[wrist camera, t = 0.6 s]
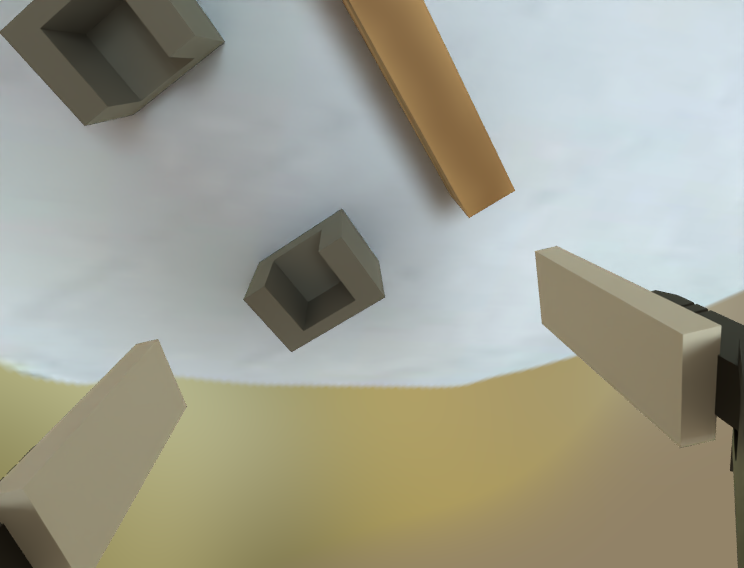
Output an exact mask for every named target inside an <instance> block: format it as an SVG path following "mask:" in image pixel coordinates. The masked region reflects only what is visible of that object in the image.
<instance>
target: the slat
mask: <svg viewBox="0 0 744 568" xmlns="http://www.w3.org/2000/svg"><path fill="white" fill-rule="evenodd" d="M342 2H343V4H344V5H345V7H346V9H347V11H348V13H349V14H350V16H351V18H352V20H353V21H354V23H355V25H356V27H357V29H358V30H359V32H360V34H361V36H362V38H363V39H364V41H365V43H366V45H367V47H368V48H369V50H370V52H371V54H372V56H373V57H374V59H375V61H376V63H377V64H378V66H379V68H380V70H381V72H382V73H383V75H384V77H385V79H386V81H387V82H388V84H389V86H390V88H391V90H392V91H393V93H394V95H395V97H396V99H397V100H398V102H399V104H400V106H401V107H402V109H403V111H404V113H405V115H406V116H407V118H408V120H409V122H410V124H411V125H412V127H413V129H414V131H415V133H416V134H417V136H418V138H419V140H420V142H421V143H422V145H423V147H424V149H425V150H426V152H427V154H428V156H429V158H430V159H431V161H432V163H433V165H434V167H435V168H436V170H437V172H438V174H439V176H440V177H441V179H442V181H443V183H444V184H445V186H446V188H447V190H448V192H449V193H450V195H451V197H452V198H453V199H454V200H455V201H456V203H457V204H458V205H459V206H460V208H461V209H462V210H463V211H464V212H465V214H466V215H467V216H468V217H469V218H470V217H472V216H473V215H475V214H477V213H478V212H480V211H482V210H483V209H485V208H487V207H488V206H490V205H492V204H493V203H495V202H497V201H498V200H500V199H502V198H503V197H505V196H507V195H508V194H510V193H512V192H513V191H515V189H514V187H513V185H512V183H511V181H510V179H509V177H508V175H507V173H506V171H505V169H504V167H503V165H502V162H501V160H500V158H499V156H498V154H497V152H496V150H495V148H494V146H493V144H492V142H491V140H490V138H489V135H488V133H487V131H486V129H485V127H484V125H483V123H482V121H481V119H480V117H479V115H478V113H477V111H476V108H475V106H474V104H473V102H472V100H471V98H470V96H469V94H468V92H467V90H466V88H465V86H464V84H463V82H462V79H461V77H460V75H459V73H458V71H457V69H456V67H455V65H454V63H453V61H452V59H451V57H450V55H449V52H448V50H447V48H446V46H445V44H444V42H443V40H442V38H441V36H440V34H439V32H438V30H437V28H436V25H435V23H434V21H433V19H432V17H431V15H430V13H429V11H428V9H427V7H426V5H425V3H424V1H423V0H342Z"/></svg>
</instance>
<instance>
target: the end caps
mask: <svg viewBox="0 0 744 568" xmlns="http://www.w3.org/2000/svg"><path fill="white" fill-rule="evenodd" d="M0 34H1V35H2V36H3V37H4V38H5V39H6V40H7V41H8V42H9V44H10V45H11V46H12V47H13V48H14V49H15V50H16V51H17V52H18V53H19V54H20V56H21V57H22V58H23V59H24V60H25V61H26V62H27V63H28V64H29V65H30V67H31V68H32V69H33V70H34V71H35V72H36V73H37V74H38V75H39V76H40V77H41V79H42V80H43V81H44V82H45V83H46V84H47V85H48V86H49V87H50V88H51V89H52V91H53V92H54V93H55V94H56V95H57V96H58V97H59V98H60V99H61V100H62V102H63V103H64V104H65V105H66V106H67V107H68V108H69V109H70V110H71V111H72V112H73V114H74V115H75V116H76V117H77V118H78V119H79V120H80V121H81V122H82V123H83V125H84V126H87V125H91V124H95V123H100V122H104V121H108V120H113V119H117V118H121V117H126V116H130V115H134V114H135V113H136V112H138V111H139V110H140V109H141V108H143V107H144V106H145V105H146V104H148V103H149V102H150V101H151V100H153V99H154V98H155V97H156V96H158V95H159V94H160V93H161V92H163V91H164V90H165V89H166V88H168V87H169V86H170V85H171V84H173V83H174V82H175V81H176V80H178V79H179V78H180V77H181V76H183V75H184V74H185V73H186V72H188V71H189V70H190V69H191V68H193V67H194V66H195V65H196V64H198V63H199V62H200V61H201V60H203V59H204V58H205V57H206V56H208V55H209V54H210V53H211V52H213V51H214V50H215V49H216V48H218V47H219V46H220V45H221V44H223V43H224V42H225V41H224V40H223V38H222V37H221V35H220V34H219V33H218V31H217V30H216V28H215V27H214V26H213V24H212V23H211V21H210V20H209V18H208V17H207V16H206V14H205V13H204V11H203V10H202V8H201V7H200V6H199V4H198V3H197V1H196V0H33V1H32V2H31V3H30V4H29V5H28V6H27V7H26V8H25V9H24V10H23V11H22V12H21V13H19V14H18V15H17V16H16V17H15V18H14V19H13V20H12V21H11V22H10V23H9V24H8V25H7V26H5V27H4V28H3V29H2V30H1V31H0ZM383 298H385V294H384V288H383V282H382V276H381V271H380V265H379V261H378V259H377V258H376V256H375V255H374V254H373V252H372V251H371V249H370V248H369V246H368V245H367V244H366V242H365V241H364V239H363V238H362V237H361V235H360V234H359V232H358V231H357V229H356V228H355V227H354V225H353V224H352V222H351V221H350V219H349V218H348V217H347V215H346V214H345V212H344V211H343V209H341V210H339V211H338V212H336V213H335V214H333V215H332V216H330V217H329V218H327V219H326V220H324V221H322V222H321V223H319V224H318V225H316V226H315V227H313V228H312V229H310V230H309V231H307V232H306V233H304V234H303V235H301V236H299V237H298V238H296V239H295V240H293V241H292V242H290V243H289V244H287V245H286V246H284V247H283V248H281V249H279V250H278V251H276V252H275V253H273V254H272V255H270V256H269V257H267V258H266V259H264V260H263V261H261V262H260V263H259V265H258V267H257V269H256V271H255V274H254V276H253V278H252V281H251V283H250V285H249V288H248V290H247V292H246V294H245V297H244V299H243V300H244V301H245V302H246V303H247V304H248V305H249V306H250V307H251V308H252V310H253V311H254V312H255V313H256V314H257V315H258V316H259V317H260V318H261V319H262V321H263V322H264V323H265V324H266V325H267V326H268V327H269V328H270V329H271V330H272V331H273V333H274V334H275V335H276V336H277V337H278V338H279V339H280V340H281V341H282V342H283V344H284V345H285V346H286V347H287V348H288V349H289V350H290V351H291V352H293V351H294V350H296V349H298V348H299V347H301V346H303V345H305V344H306V343H308V342H310V341H311V340H313V339H315V338H317V337H318V336H320V335H322V334H323V333H325V332H327V331H328V330H330V329H332V328H334V327H335V326H337V325H339V324H340V323H342V322H344V321H345V320H347V319H349V318H351V317H352V316H354V315H356V314H357V313H359V312H361V311H363V310H364V309H366V308H368V307H369V306H371V305H373V304H374V303H376V302H378V301H380V300H381V299H383Z"/></svg>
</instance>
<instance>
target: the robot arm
mask: <svg viewBox="0 0 744 568" xmlns="http://www.w3.org/2000/svg"><path fill="white" fill-rule="evenodd" d="M535 257H536V267H537V277H538V288H539V298H540V308H541V319H542V324H543V325H544V326H545V327H546V328H547V329H549V330H550V331H551V332H552V333H553V334H554V335H555V336H556V337H557V338H559V339H560V340H561V341H562V342H563V343H564V344H565V345H566V346H567V347H569V348H570V349H571V350H572V351H573V352H574V353H575V354H576V355H577V356H579V357H580V358H581V359H582V360H583V361H584V362H585V363H586V364H587V365H589V366H590V367H591V368H592V369H593V370H594V371H595V372H596V373H597V374H599V375H600V376H601V377H602V378H603V379H604V380H605V381H607V382H608V383H609V384H610V385H611V386H612V387H613V388H614V389H615V390H616V391H618V392H619V393H620V394H621V395H622V396H623V397H624V398H625V399H626V400H628V401H629V402H630V403H631V404H632V405H633V406H634V407H635V408H636V409H638V410H639V411H640V412H641V413H642V414H643V415H644V416H645V417H647V418H648V419H649V420H650V421H651V422H652V423H653V424H654V425H655V426H657V427H658V428H659V429H660V430H661V431H662V432H663V433H664V434H665V435H666V436H668V437H669V438H670V439H671V440H672V441H673V442H674V443H675V444H676V445H678V446H679V447H680V448H683V447H687V446H692V445H695V444H700V443H705V442H709V441H713V440H715V435H716V417H717V416H718V417H719V418H721V419H722V420H723V421H725V422H726V423H727V424H729V425H730V426H732V427H733V436H732V450H731V464H730V471H733V473H734V494H735V515H736V535H737V536H736V537H737V558H738V568H744V325H742V324H739V323H737V322H735V321H733V320H731V319H729V318H727V317H724V316H722V315H720V314H718V313H716V312H713V311H708V309H707V308H705V307H702V306H700V305H698V304H695V305H694V302H691V301H689V300H687V299H685V298H683V297H680V296H678V295H675V294H670V293H666V292H661V291H657V290H655V291H649V290H647V289H645V288H643V287H641V286H639V285H636V284H634V283H632V282H630V281H628V280H626V279H624V278H622V277H620V276H618V275H616V274H614V273H612V272H610V271H608V270H605V269H603V268H601V267H599V266H597V265H595V264H593V263H591V262H589V261H587V260H585V259H583V258H581V257H579V256H576V255H574V254H572V253H570V252H568V251H566V250H564V249H562V248H560V247H558V246H555V247H551V248H546V249H542V250H538V251H535ZM186 407H187V406H186V403H185V401H184V399H183V396H182V394H181V392H180V389H179V387H178V385H177V382H176V380H175V378H174V375H173V373H172V371H171V368H170V366H169V363H168V361H167V359H166V356H165V354H164V352H163V349H162V347H161V345H160V342H159V340H158V339H156V340H152V341H147V342H143V343H139V344H136V345H135V346H134V347H133V348H132V349H131V350H130V351H129V352H128V353H127V354H126V355H125V356H124V357H123V358H122V359H121V360H120V361H119V362H118V363H117V364H116V365H115V366H114V367H113V368H112V369H111V370H110V371H109V372H108V373H107V374H106V375H105V376H104V377H103V378H102V379H101V380H100V381H99V382H98V383H97V384H96V385H95V386H94V387H93V388H92V389H91V390H90V391H89V392H88V393H87V394H86V395H85V396H84V397H83V398H82V399H81V400H80V401H79V402H78V403H77V405H75V406H74V407H73V408H72V409H71V410H70V411H69V412H68V413H67V414H66V415H65V416H64V417H63V418H62V419H61V420H60V422H58V423H57V424H56V425H55V426H54V428H53V429H52V430H51V431H50V432H49V433H48V434H47V435H46V436H45V437H44V438H43V439H42V440H41V441H40V442H39V443H38V444H37V445H35V446H34V447H33V448H32V449H31V450H30V451H29V452H28V453H27V454H26V455H25V456H24V457H23V458H22V459H21V460H20V461H19V463H18V464H16V465H15V466H14V467H13V468H12V469H11V470H10V471H9V472H8V473H7V475H6V476H5V477H3V478H2V479H1V480H0V568H95V567H96V566H97V564H98V562H99V560H100V558H101V557H102V555H103V553H104V551H105V550H106V548H107V546H108V544H109V543H110V541H111V539H112V537H113V536H114V534H115V532H116V530H117V528H118V527H119V525H120V523H121V521H122V520H123V518H124V516H125V514H126V513H127V511H128V509H129V507H130V506H131V504H132V502H133V500H134V499H135V497H136V495H137V493H138V492H139V490H140V488H141V486H142V485H143V483H144V481H145V479H146V477H147V476H148V474H149V472H150V470H151V469H152V467H153V465H154V463H155V462H156V460H157V458H158V456H159V455H160V453H161V451H162V449H163V448H164V446H165V444H166V442H167V440H168V439H169V437H170V435H171V433H172V432H173V430H174V428H175V426H176V425H177V423H178V421H179V419H180V417H181V416H182V414H183V412H184V410H185V409H186Z"/></svg>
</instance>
